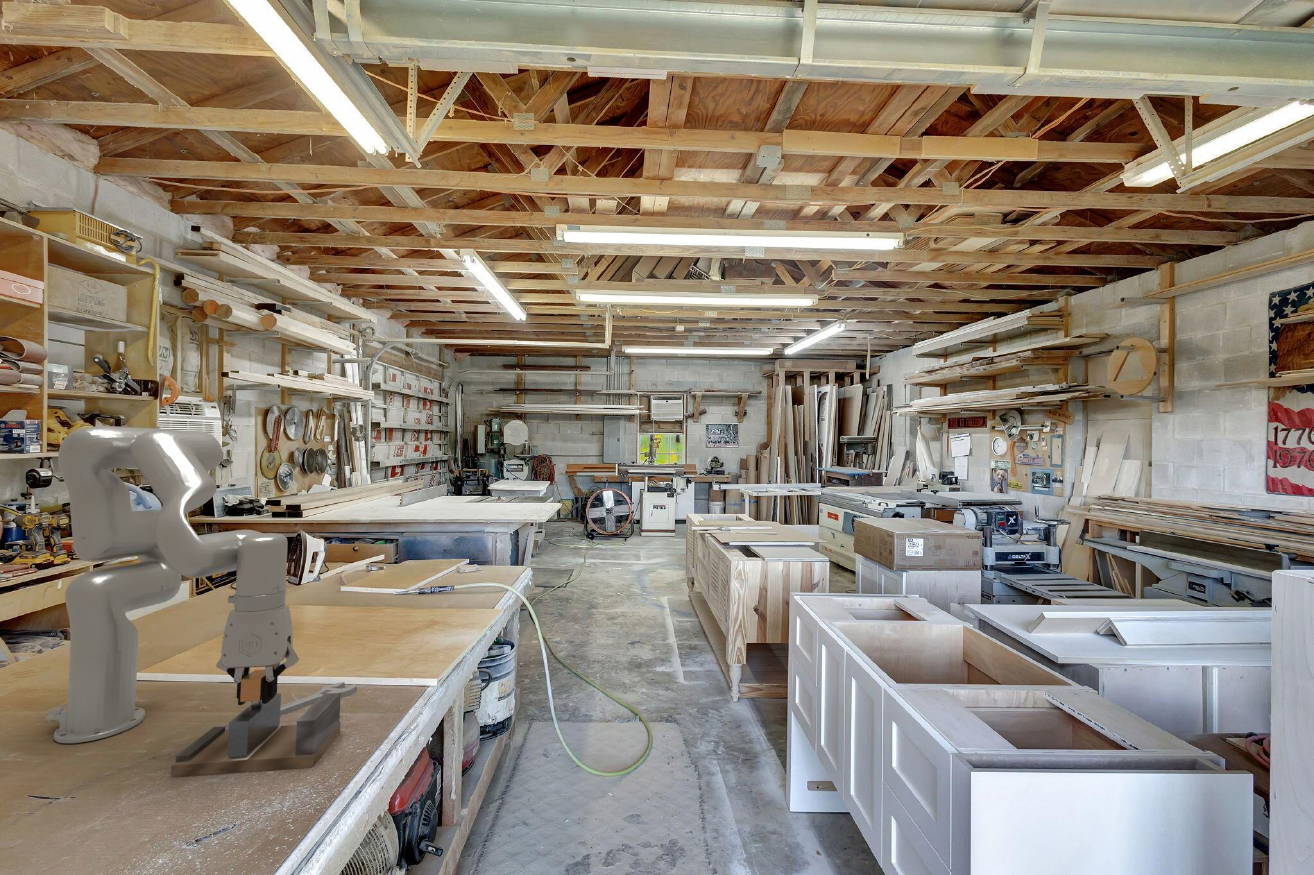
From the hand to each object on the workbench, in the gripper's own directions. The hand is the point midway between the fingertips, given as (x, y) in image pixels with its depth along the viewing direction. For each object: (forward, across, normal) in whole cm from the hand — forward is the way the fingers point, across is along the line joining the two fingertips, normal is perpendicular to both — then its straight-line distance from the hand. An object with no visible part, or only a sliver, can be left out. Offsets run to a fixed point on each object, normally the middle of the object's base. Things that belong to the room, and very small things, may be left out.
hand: (256, 700), depth 99 cm
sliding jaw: (+7, 0, 0) cm, 7 cm away
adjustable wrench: (+10, -2, +19) cm, 21 cm away
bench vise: (+10, +1, 0) cm, 10 cm away
